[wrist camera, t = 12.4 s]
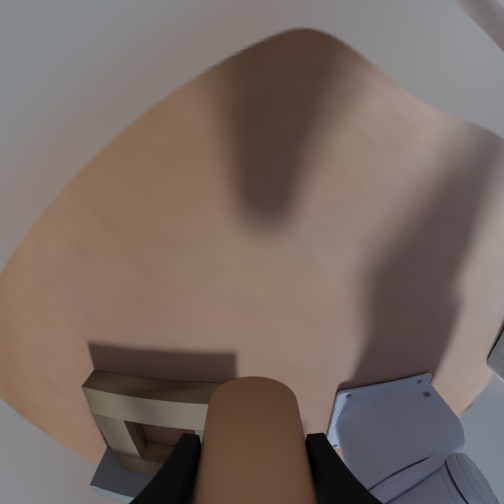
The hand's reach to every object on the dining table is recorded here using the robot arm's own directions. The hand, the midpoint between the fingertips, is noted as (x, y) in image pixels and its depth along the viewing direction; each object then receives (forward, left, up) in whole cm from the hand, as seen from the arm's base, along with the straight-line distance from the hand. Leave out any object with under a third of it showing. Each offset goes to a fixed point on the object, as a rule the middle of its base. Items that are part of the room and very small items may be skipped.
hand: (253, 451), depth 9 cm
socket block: (+7, +10, -10) cm, 16 cm away
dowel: (0, 0, -2) cm, 2 cm away
